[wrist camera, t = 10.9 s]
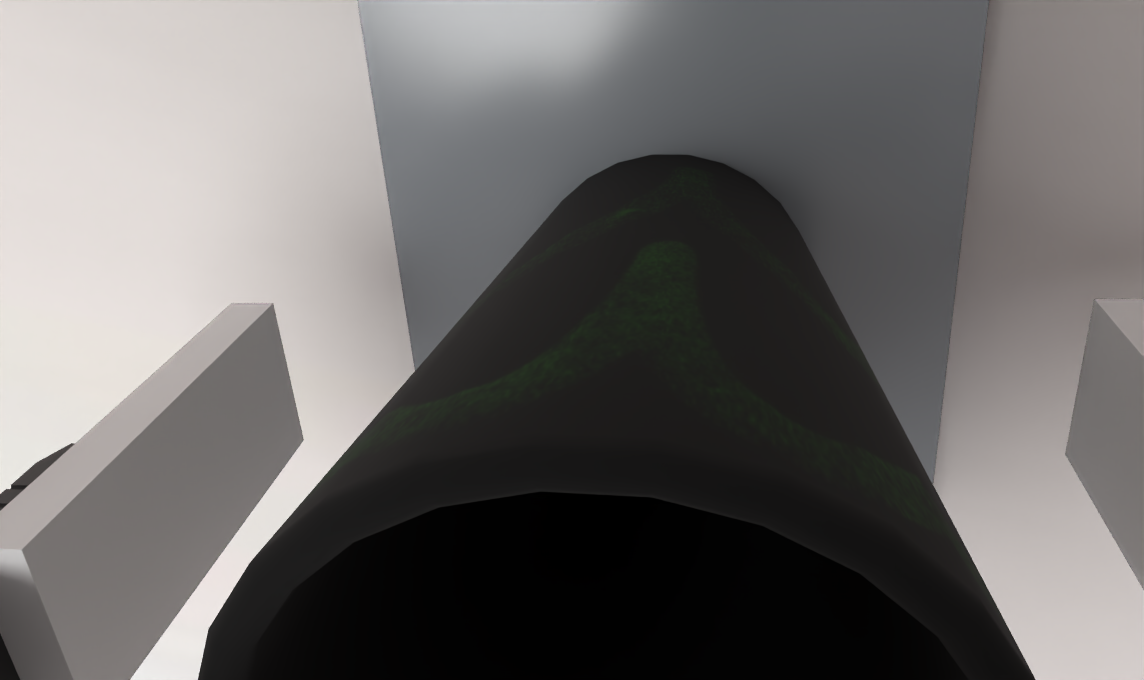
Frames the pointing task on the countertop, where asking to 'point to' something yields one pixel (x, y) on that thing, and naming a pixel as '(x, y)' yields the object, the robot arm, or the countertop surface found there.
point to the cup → (628, 479)
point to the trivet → (691, 143)
